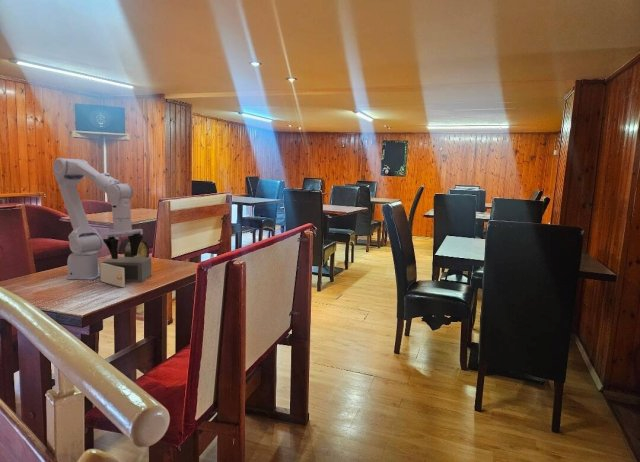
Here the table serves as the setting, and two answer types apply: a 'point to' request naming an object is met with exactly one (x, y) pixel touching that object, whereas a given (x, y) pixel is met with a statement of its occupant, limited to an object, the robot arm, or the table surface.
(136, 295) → the table surface
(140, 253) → the alarm clock
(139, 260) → the housing
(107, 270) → the door
